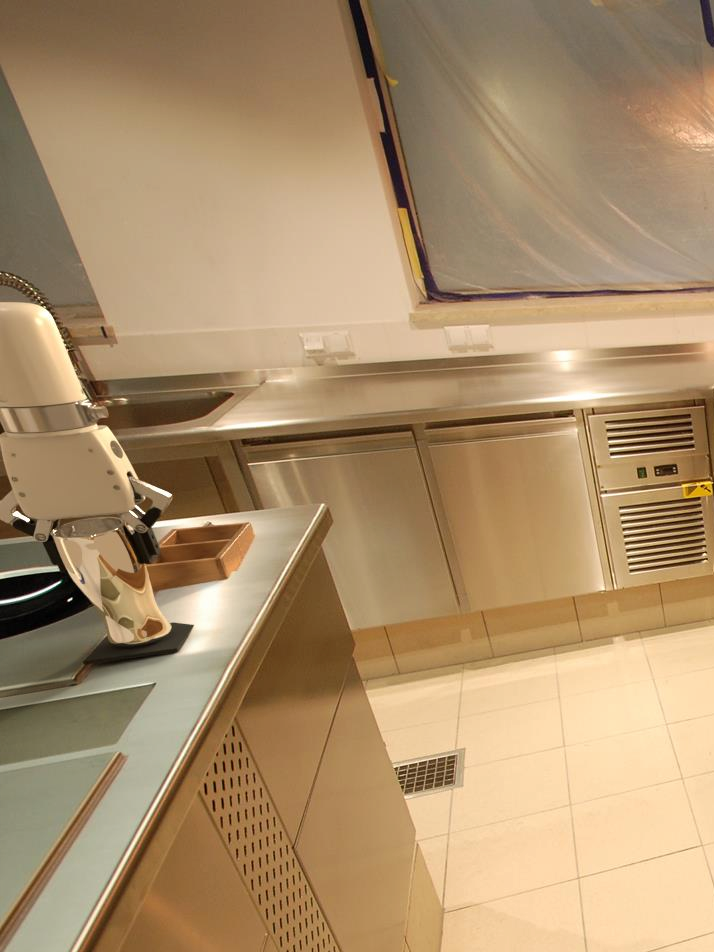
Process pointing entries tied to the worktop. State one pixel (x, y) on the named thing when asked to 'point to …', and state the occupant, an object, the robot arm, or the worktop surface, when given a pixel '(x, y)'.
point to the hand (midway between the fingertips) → (111, 564)
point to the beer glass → (112, 578)
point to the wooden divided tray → (200, 555)
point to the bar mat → (162, 646)
